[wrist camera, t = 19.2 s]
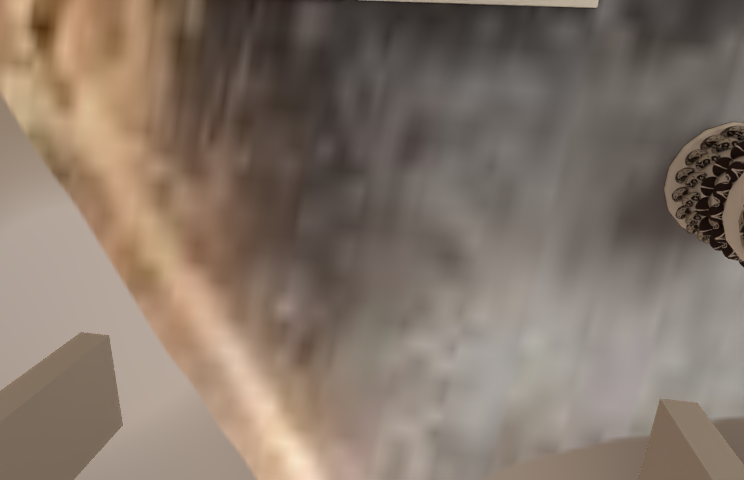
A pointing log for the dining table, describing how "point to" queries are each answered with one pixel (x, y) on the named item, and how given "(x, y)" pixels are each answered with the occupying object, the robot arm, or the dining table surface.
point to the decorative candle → (711, 188)
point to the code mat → (513, 2)
